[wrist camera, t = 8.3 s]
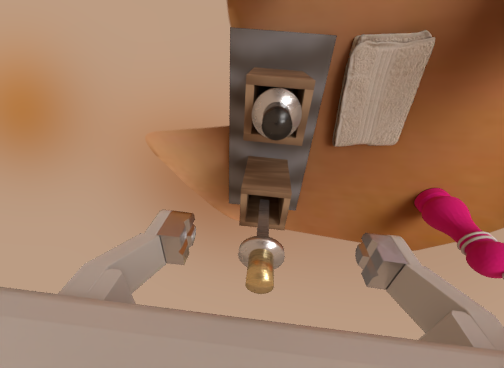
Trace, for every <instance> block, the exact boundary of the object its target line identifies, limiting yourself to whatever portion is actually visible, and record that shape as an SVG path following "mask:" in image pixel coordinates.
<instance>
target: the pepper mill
mask: <svg viewBox="0 0 504 368" xmlns="http://www.w3.org/2000/svg"><path fill="white" fill-rule="evenodd" d="M415 207H416V208H417V209H418V210H419V211H420V212H421V213H422V218H423V219H424V221H425V222H426V223H428V224H429V225H430V226H432V227H433V228H435V229H437V230H439V231H441V232H444V233H445V234H447V235H449V236H450V237H451V238H453V239H454V240H455V241H456V242H457V247H458V249H459V250H461V252H462V253H463V254H464V255H466V260H467V263H468V264H469V266H470V267H471V268H472V269H474V270H475V271H476V272H478V273H480V274H481V275H484V276H486V277H491V278H503V279H504V243H501V242H497V240H496V238H494V237H492V235H491V234H490V233H487V232H483V231H482V230H480V229H479V228H478V227H477V226H476V225H475V223H474V222H473V220H472V218H471V215H470V212H469V210H468V208H467V206H466V205H465V204H464V203H463V202H462V201H461V200H460V199H458V198H455V197H451V196H450V195H449V194H448V193H447V192H446V191H444V190H443V189H440V188H432V189H428V190H425V191H423V192H422V193H420V194H419V195H418V196H417V197H416V199H415Z"/></svg>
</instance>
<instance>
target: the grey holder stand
mask: <svg viewBox="0 0 504 368" xmlns="http://www.w3.org/2000/svg"><path fill="white" fill-rule="evenodd" d="M336 37H337V36H336V35H323V34H310V33H297V32H284V31H271V30H258V29H245V28H232V27H230V135H229V203H231V204H240V225H241V226H250V227H258V216H259V205H260V199H264V200H269V229H278V230H284V229H285V224H286V219H287V214H288V210H296V206H297V202H298V198H299V194H300V190H301V185H302V181H303V177H304V173H305V168H306V164H307V160H308V156H309V151H310V147H311V143H312V139H313V134H314V130H315V126H316V122H317V118H318V113H319V109H320V105H321V101H322V96H323V92H324V88H325V84H326V79H327V75H328V71H329V67H330V62H331V58H332V54H333V50H334V46H335V41H336ZM272 88H284V89H287V90H289V91H290V92H292V93H293V94H294V95H295V96H296V97H297V99H298V101H299V103H300V105H301V110H302V116H301V121H300V124H299V126H298V127H297V129H296V130H295V131H294V132H293V133H292V134H291V135H289V136H287V137H286V138H284V139H282V140H271V139H269V138H266V137H264V136H263V135H261V134H260V133H259V132H258V131H257V130H256V128H255V127H254V124H253V121H252V109H253V106H254V103H255V101H256V99H257V98H258V97H259V96H260V95H261V94H262V93H263V92H265V91H266V90H268V89H272Z"/></svg>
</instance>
